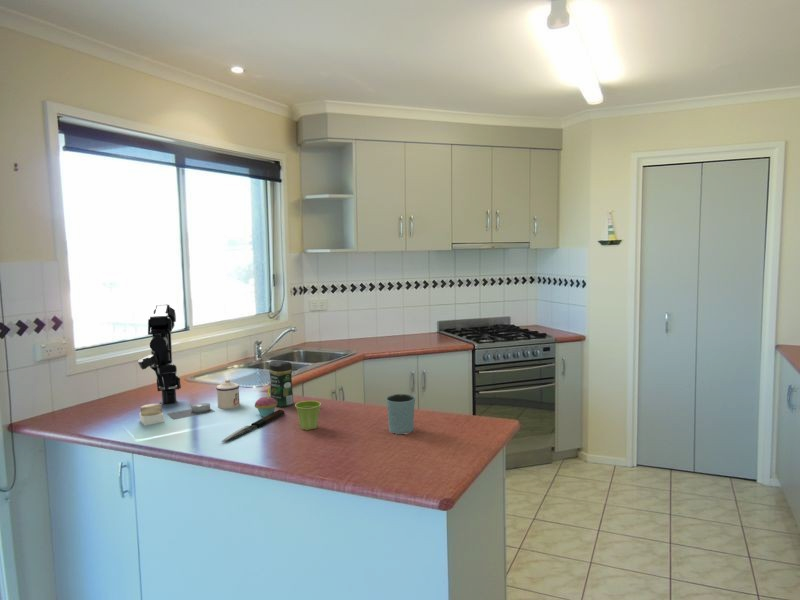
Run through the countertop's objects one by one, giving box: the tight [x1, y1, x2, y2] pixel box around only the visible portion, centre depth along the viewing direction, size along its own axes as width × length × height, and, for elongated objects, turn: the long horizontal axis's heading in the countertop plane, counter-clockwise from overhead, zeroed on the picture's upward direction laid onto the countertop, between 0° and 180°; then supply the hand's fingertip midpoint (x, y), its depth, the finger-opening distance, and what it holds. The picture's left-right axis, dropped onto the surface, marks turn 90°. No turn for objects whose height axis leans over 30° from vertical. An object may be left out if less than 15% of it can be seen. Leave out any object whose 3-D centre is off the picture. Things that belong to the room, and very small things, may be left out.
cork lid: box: [140, 403, 163, 416], centre depth 210 cm, size 7×7×3 cm
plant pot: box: [294, 400, 322, 431], centre depth 201 cm, size 9×9×9 cm
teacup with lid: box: [216, 378, 241, 410], centre depth 231 cm, size 12×9×12 cm
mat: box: [166, 407, 215, 421], centre depth 221 cm, size 10×16×1 cm, turn 127°
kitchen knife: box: [221, 409, 286, 443], centre depth 203 cm, size 36×2×5 cm
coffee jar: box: [268, 359, 294, 408], centre depth 232 cm, size 10×8×19 cm
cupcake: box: [254, 385, 278, 418], centre depth 218 cm, size 9×8×12 cm
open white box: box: [138, 411, 165, 427], centre depth 211 cm, size 7×7×4 cm
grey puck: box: [190, 402, 211, 413], centre depth 224 cm, size 7×7×2 cm
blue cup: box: [385, 393, 416, 435], centre depth 195 cm, size 10×10×12 cm
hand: (163, 386), depth 217 cm, fingers open, 9 cm apart
